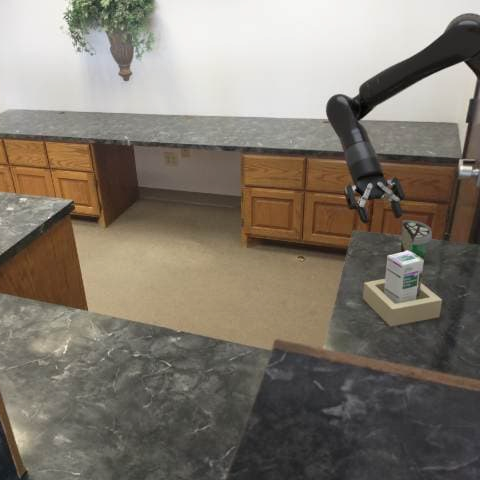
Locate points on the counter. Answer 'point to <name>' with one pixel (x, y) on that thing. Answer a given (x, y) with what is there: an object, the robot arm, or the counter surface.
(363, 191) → the robot arm
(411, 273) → the syrup box
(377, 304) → the frame
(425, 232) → the food container
